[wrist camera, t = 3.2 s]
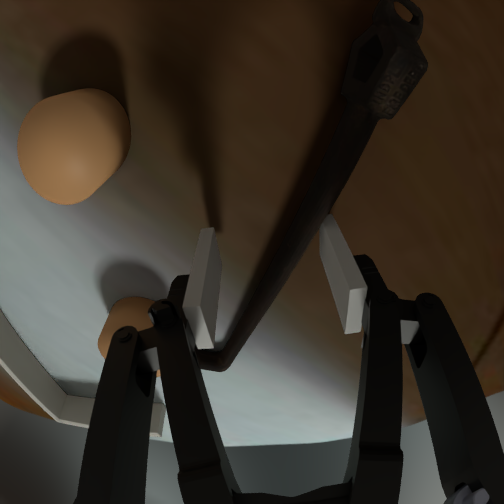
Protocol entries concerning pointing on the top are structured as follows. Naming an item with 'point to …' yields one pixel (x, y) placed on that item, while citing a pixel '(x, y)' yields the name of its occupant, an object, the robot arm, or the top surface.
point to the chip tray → (52, 385)
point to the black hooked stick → (340, 150)
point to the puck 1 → (73, 144)
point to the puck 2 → (125, 320)
